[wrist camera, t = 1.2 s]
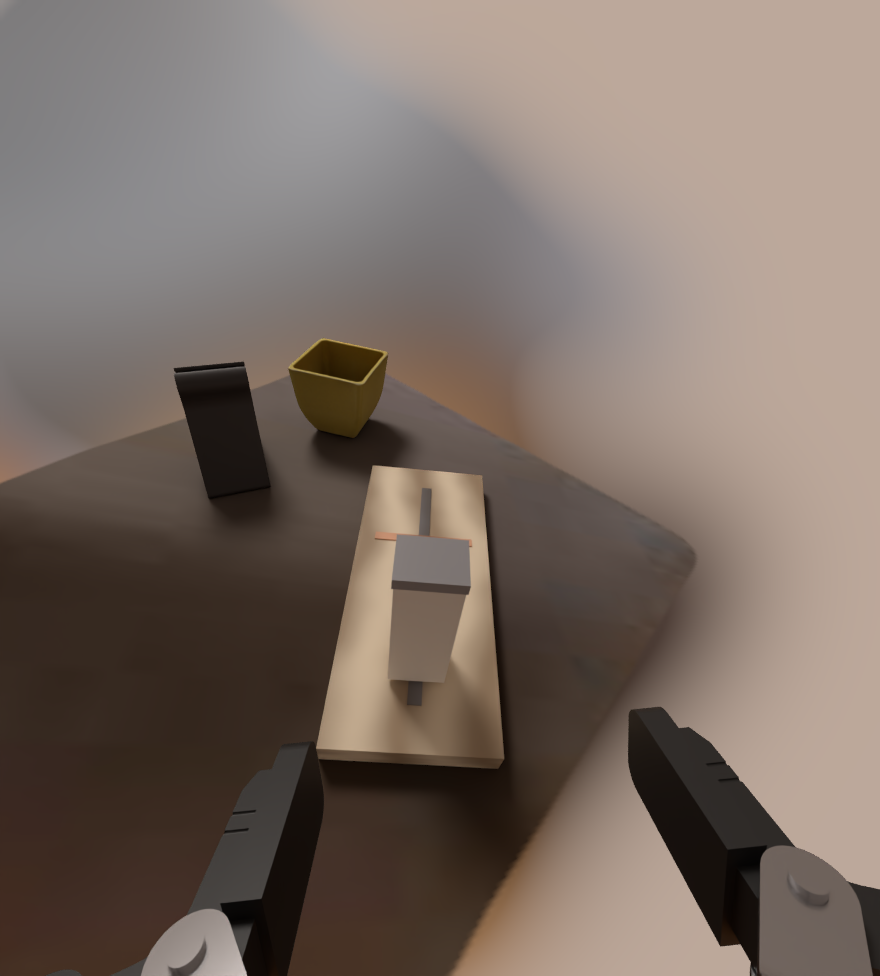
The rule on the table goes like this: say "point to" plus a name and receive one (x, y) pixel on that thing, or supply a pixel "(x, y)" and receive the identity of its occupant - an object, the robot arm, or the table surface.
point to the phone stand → (223, 427)
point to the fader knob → (426, 605)
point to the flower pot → (338, 385)
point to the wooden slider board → (366, 637)
